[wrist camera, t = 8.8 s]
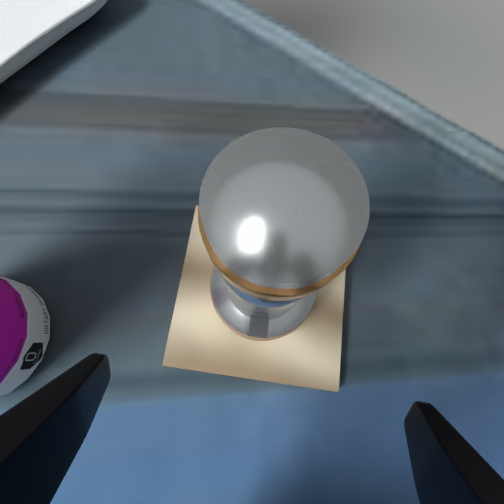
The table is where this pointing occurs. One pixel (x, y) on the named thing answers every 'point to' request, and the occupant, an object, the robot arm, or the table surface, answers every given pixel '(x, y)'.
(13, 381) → the supplement can
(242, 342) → the beige square tile
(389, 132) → the table surface
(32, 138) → the table surface
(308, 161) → the grey tall flared piece
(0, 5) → the salad plate
